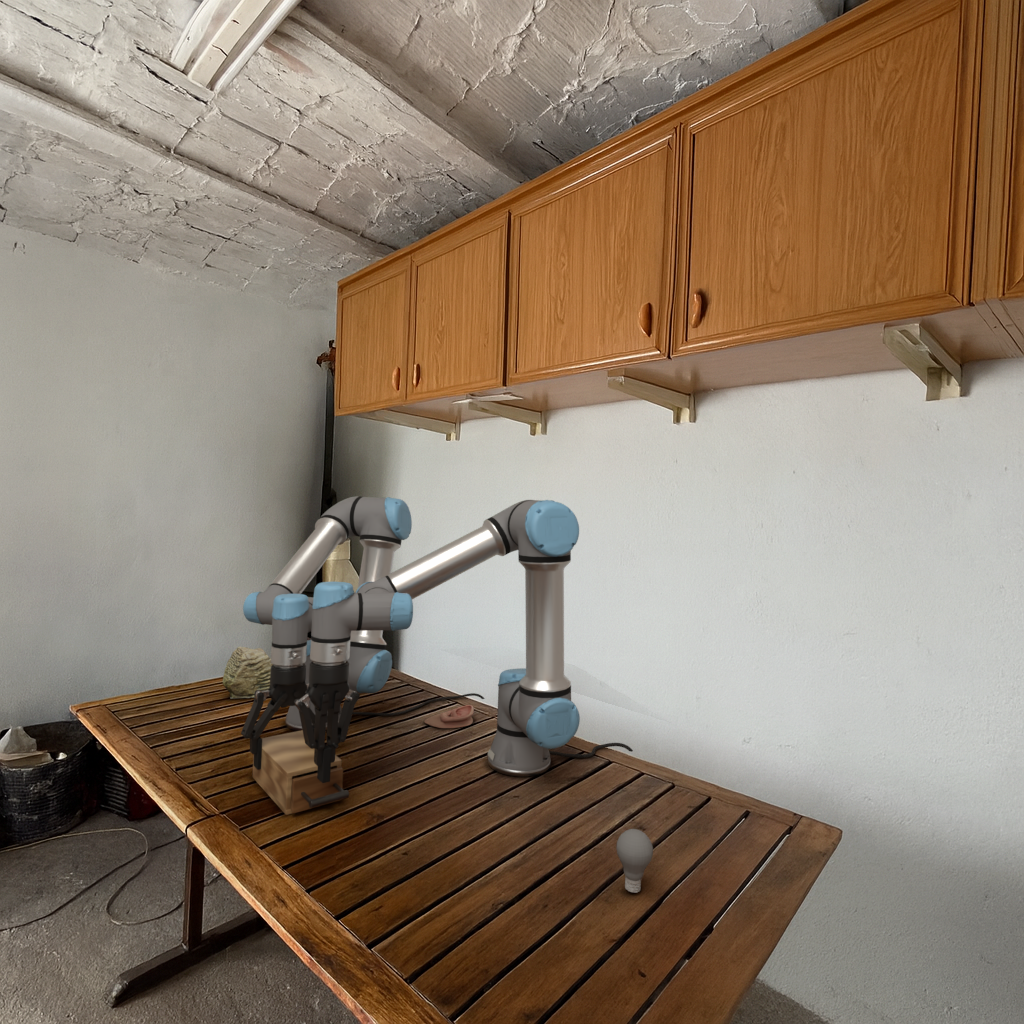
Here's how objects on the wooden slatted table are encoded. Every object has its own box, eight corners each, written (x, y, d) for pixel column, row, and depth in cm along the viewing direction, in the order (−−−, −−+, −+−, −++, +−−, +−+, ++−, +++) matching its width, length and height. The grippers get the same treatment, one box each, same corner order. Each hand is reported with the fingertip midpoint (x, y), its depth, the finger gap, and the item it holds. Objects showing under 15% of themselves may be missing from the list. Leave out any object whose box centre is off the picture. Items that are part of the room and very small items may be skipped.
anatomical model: (421, 711, 177) (434, 699, 188) (420, 725, 177) (433, 712, 188) (466, 717, 174) (477, 704, 186) (466, 731, 174) (476, 717, 186)
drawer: (354, 810, 127) (355, 778, 126) (304, 826, 120) (305, 792, 120) (305, 766, 146) (306, 739, 146) (260, 777, 139) (261, 748, 139)
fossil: (218, 695, 195) (220, 647, 195) (278, 685, 208) (279, 640, 207) (228, 703, 189) (230, 653, 188) (289, 692, 201) (290, 645, 201)
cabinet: (340, 799, 133) (341, 759, 133) (285, 815, 126) (287, 773, 125) (302, 765, 149) (303, 729, 149) (252, 777, 141) (253, 739, 141)
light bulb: (610, 879, 108) (613, 822, 108) (644, 879, 109) (647, 822, 109) (619, 902, 102) (622, 840, 102) (655, 901, 103) (658, 840, 103)
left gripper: (238, 675, 131) (234, 780, 131) (345, 660, 146) (342, 754, 147) (227, 667, 137) (224, 767, 137) (332, 654, 152) (328, 744, 152)
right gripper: (304, 669, 118) (298, 795, 118) (368, 661, 126) (362, 779, 126) (289, 660, 123) (283, 780, 124) (351, 653, 132) (346, 765, 132)
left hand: (285, 760), depth 142 cm, fingers closed on cabinet, 11 cm apart
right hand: (323, 779), depth 125 cm, fingers closed
